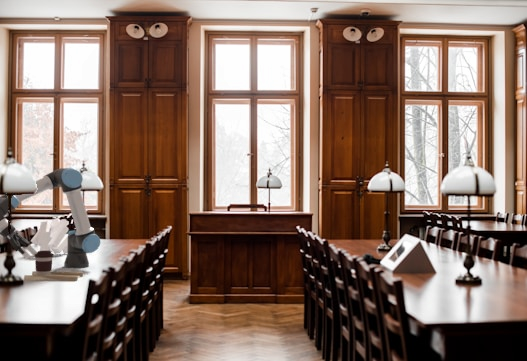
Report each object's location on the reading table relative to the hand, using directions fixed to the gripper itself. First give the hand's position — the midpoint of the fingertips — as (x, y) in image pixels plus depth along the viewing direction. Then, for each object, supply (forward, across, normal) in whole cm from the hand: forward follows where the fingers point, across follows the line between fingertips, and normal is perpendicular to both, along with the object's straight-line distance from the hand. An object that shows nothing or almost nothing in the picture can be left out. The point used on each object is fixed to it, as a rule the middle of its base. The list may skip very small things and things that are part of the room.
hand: (32, 256), depth 317 cm
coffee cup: (+13, -1, -4) cm, 14 cm away
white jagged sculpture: (-2, -100, -20) cm, 102 cm away
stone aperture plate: (+22, -1, +5) cm, 23 cm away
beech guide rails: (+17, -1, 0) cm, 17 cm away
